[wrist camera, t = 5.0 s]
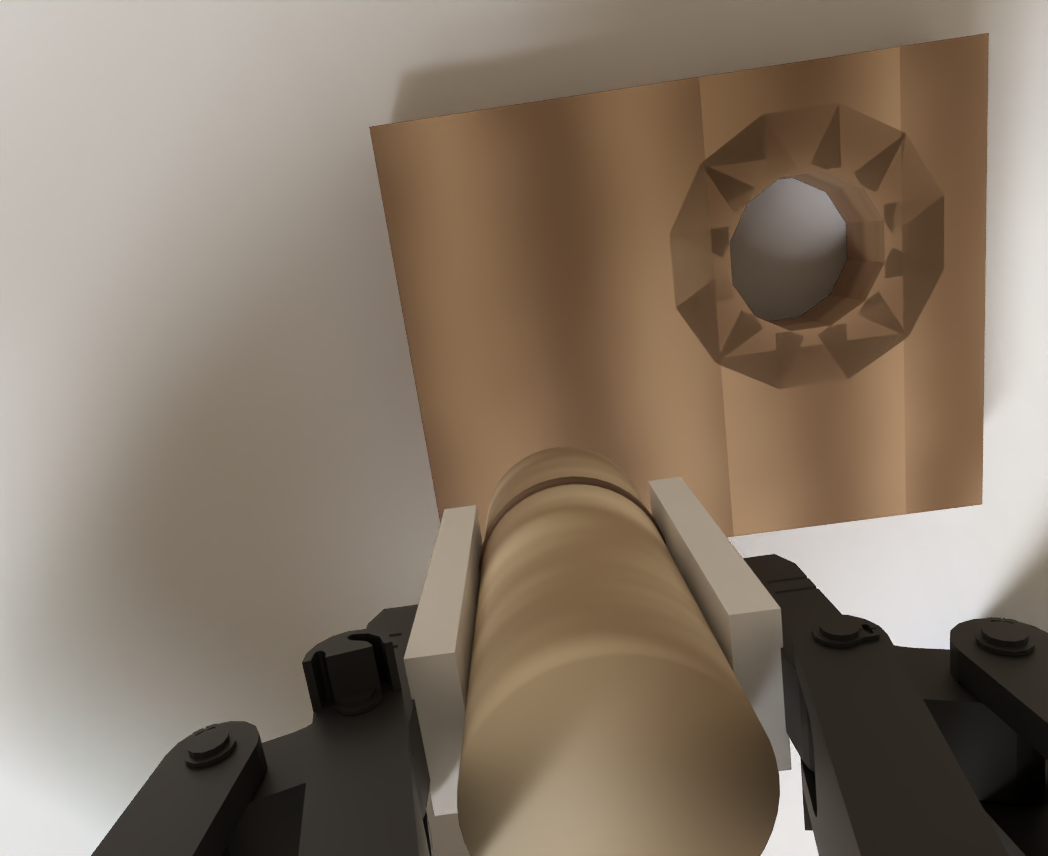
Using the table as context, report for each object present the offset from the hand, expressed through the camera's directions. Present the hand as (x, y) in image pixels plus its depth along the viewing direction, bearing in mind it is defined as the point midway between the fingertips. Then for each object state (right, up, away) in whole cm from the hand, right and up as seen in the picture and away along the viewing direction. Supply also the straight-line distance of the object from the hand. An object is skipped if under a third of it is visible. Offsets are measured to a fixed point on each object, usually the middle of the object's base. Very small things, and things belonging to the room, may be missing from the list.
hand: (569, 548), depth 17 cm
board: (+5, +7, +11) cm, 14 cm away
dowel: (0, 0, +2) cm, 2 cm away
